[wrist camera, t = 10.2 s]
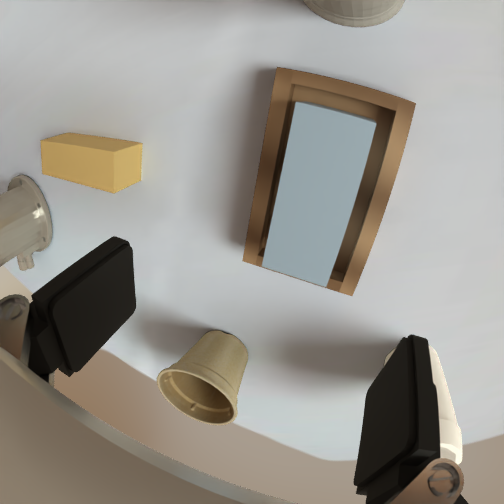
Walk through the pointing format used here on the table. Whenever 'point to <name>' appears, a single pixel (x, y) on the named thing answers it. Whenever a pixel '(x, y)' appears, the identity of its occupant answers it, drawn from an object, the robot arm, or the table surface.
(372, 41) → the table surface
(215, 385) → the flower pot
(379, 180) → the cradle
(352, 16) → the glass holder
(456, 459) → the foam cup
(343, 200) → the pale grey-blue block
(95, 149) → the mustard wooden brick
